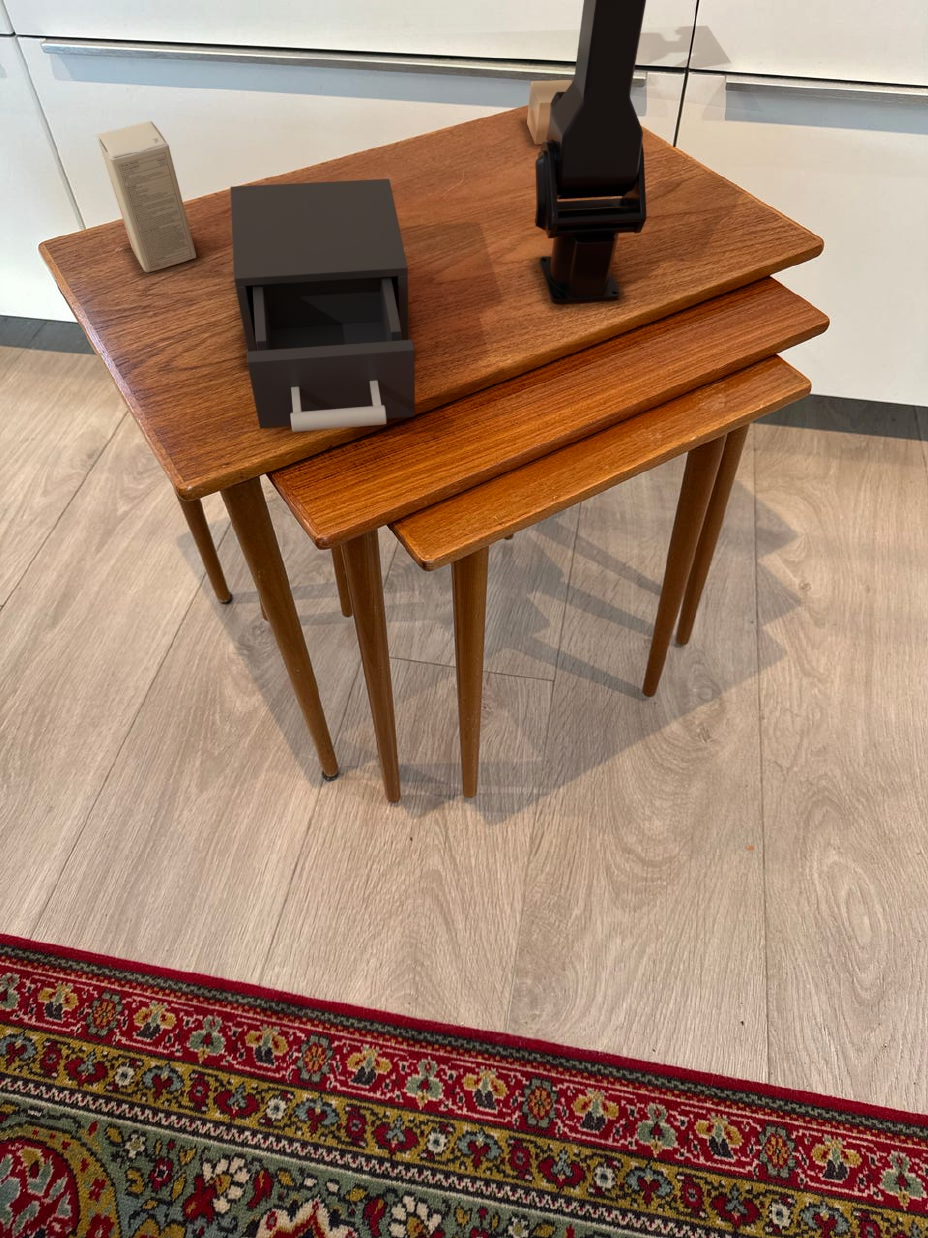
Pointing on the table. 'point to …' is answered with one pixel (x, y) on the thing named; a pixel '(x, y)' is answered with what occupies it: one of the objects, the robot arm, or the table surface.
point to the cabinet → (315, 239)
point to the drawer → (330, 355)
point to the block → (542, 106)
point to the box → (148, 195)
